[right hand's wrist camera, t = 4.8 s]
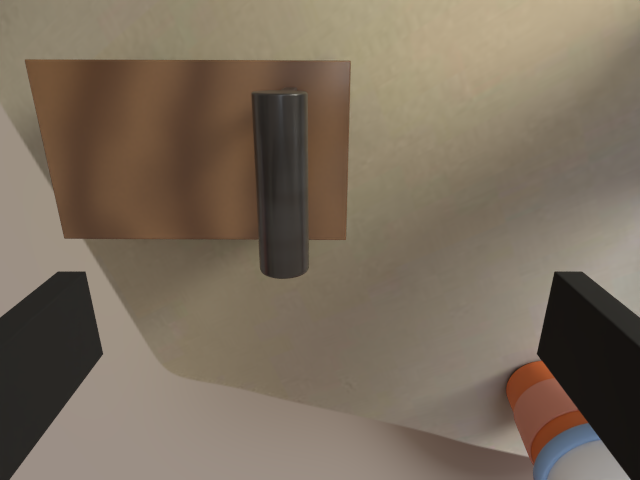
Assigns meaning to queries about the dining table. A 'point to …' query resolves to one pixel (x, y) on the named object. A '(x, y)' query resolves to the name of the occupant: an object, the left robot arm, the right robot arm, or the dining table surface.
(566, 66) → the dining table surface
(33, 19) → the dining table surface
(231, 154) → the lid
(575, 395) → the right robot arm
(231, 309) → the dining table surface
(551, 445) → the cup with straw
